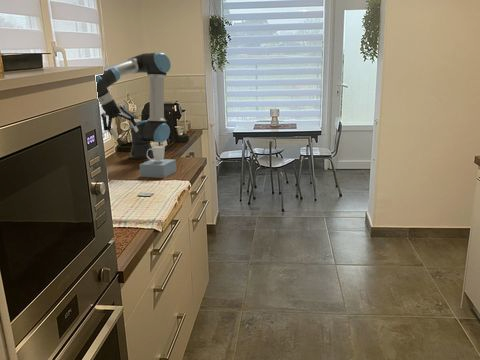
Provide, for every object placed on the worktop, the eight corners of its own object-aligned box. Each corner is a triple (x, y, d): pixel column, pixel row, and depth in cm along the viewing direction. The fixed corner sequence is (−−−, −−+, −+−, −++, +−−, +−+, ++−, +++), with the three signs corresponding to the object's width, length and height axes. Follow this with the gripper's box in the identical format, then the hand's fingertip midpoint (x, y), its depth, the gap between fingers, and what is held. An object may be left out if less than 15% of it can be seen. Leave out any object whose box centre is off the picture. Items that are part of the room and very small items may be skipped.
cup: (164, 162, 241) (163, 147, 239) (145, 163, 241) (144, 148, 239) (166, 160, 247) (166, 145, 246) (148, 160, 248) (147, 146, 246)
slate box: (153, 171, 254) (152, 158, 253) (176, 171, 250) (175, 159, 249) (140, 177, 241) (139, 164, 239) (164, 178, 237) (163, 165, 235)
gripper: (85, 112, 245) (106, 145, 255) (123, 96, 238) (143, 130, 247) (91, 107, 252) (111, 139, 261) (128, 91, 244) (147, 125, 253)
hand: (127, 135), depth 254 cm, fingers open, 13 cm apart
